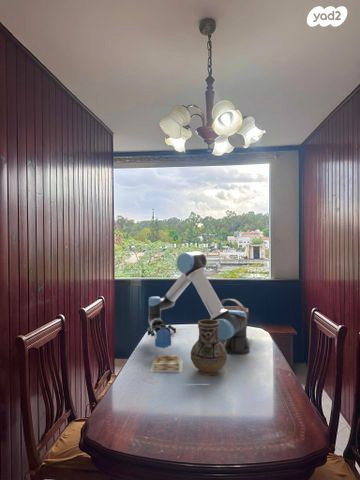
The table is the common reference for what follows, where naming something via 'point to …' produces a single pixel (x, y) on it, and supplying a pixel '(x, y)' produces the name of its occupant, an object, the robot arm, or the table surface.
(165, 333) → the perfume bottle
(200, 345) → the decorative pitcher
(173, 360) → the oak box
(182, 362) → the felt mat
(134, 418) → the table surface
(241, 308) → the bucket
